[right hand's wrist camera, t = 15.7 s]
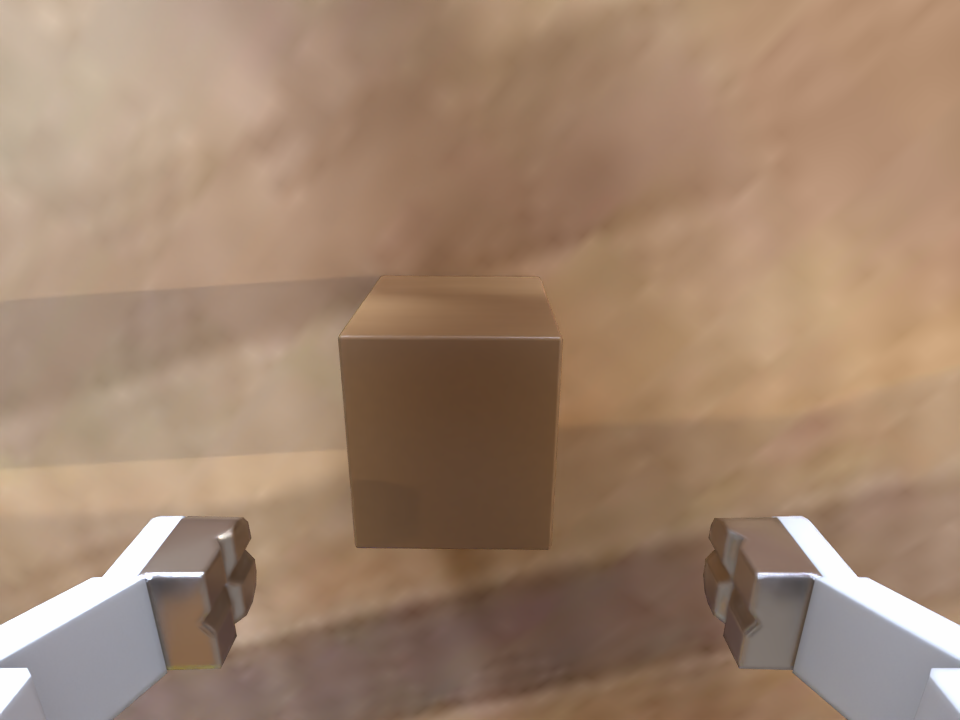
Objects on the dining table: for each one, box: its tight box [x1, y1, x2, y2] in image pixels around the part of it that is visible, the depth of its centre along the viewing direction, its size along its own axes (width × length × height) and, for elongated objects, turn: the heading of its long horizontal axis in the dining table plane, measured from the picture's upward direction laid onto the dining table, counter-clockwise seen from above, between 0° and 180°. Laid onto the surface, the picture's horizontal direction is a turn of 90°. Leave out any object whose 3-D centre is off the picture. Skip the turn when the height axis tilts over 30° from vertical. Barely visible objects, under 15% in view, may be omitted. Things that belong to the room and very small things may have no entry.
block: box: [338, 276, 563, 550], centre depth 14 cm, size 4×5×5 cm
